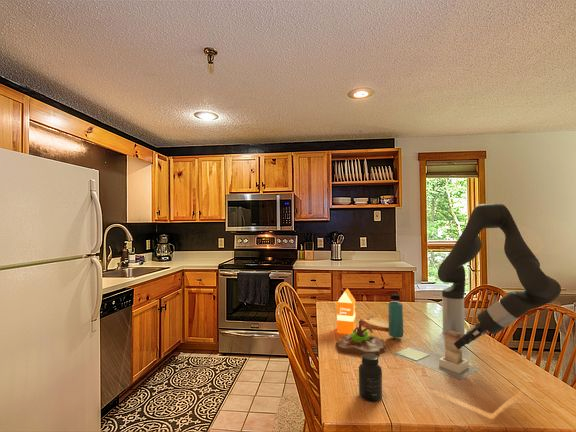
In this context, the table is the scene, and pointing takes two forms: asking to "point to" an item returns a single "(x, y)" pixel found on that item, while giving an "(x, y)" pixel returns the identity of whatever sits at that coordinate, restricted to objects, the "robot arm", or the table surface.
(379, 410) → the table surface
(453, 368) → the board
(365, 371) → the supplement bottle
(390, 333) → the beverage bottle
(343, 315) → the orange juice
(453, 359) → the wooden block tower
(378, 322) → the slice of bread
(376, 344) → the plant
